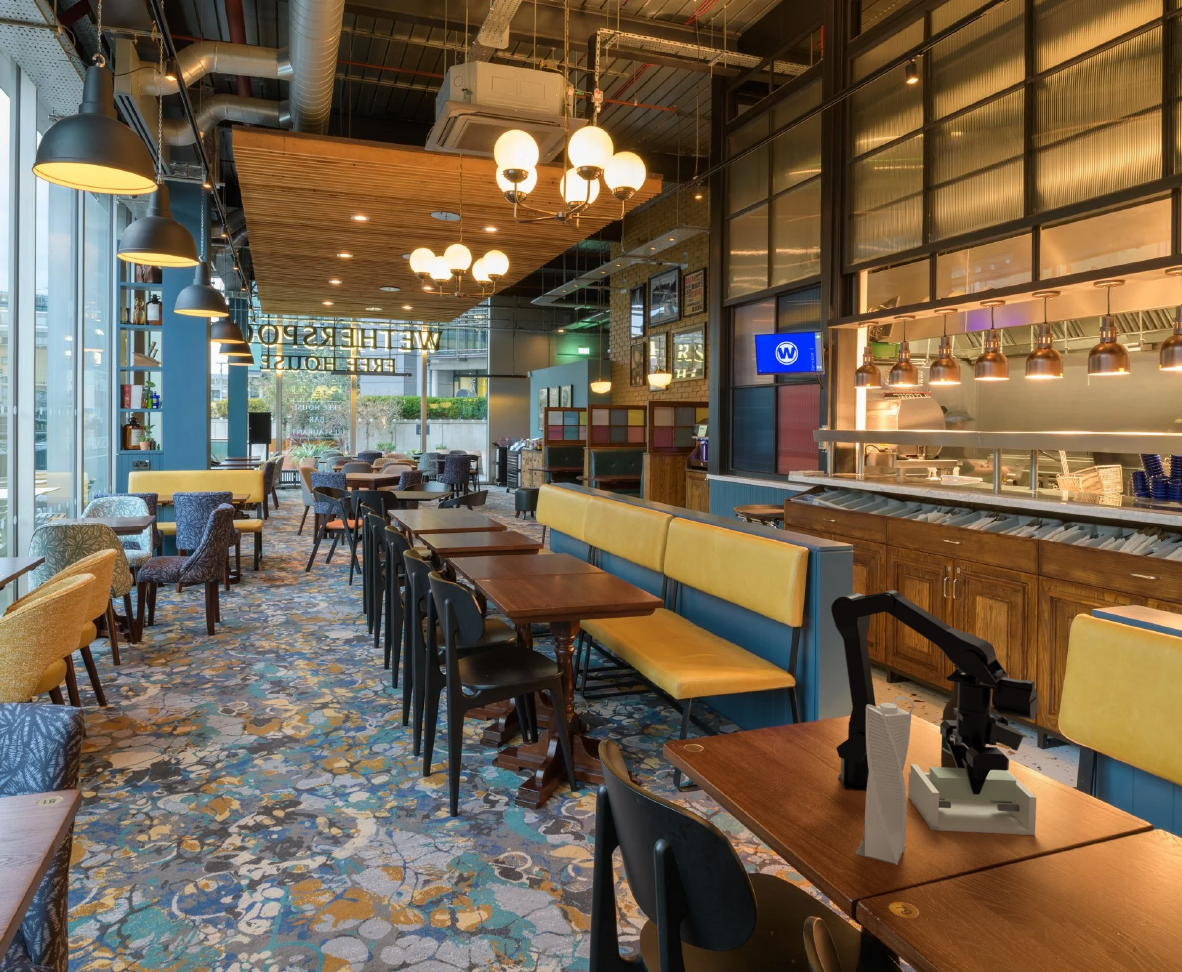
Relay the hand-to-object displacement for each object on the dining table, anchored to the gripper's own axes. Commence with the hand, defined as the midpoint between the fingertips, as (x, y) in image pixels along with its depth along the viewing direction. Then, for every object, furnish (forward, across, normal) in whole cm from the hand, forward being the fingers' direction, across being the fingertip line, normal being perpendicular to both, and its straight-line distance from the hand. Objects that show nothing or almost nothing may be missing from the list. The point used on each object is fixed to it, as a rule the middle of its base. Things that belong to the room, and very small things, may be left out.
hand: (970, 788), depth 154 cm
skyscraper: (+6, -16, +20) cm, 26 cm away
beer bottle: (+6, +23, -6) cm, 24 cm away
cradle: (+6, 0, 0) cm, 6 cm away
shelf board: (+1, 0, 0) cm, 1 cm away
